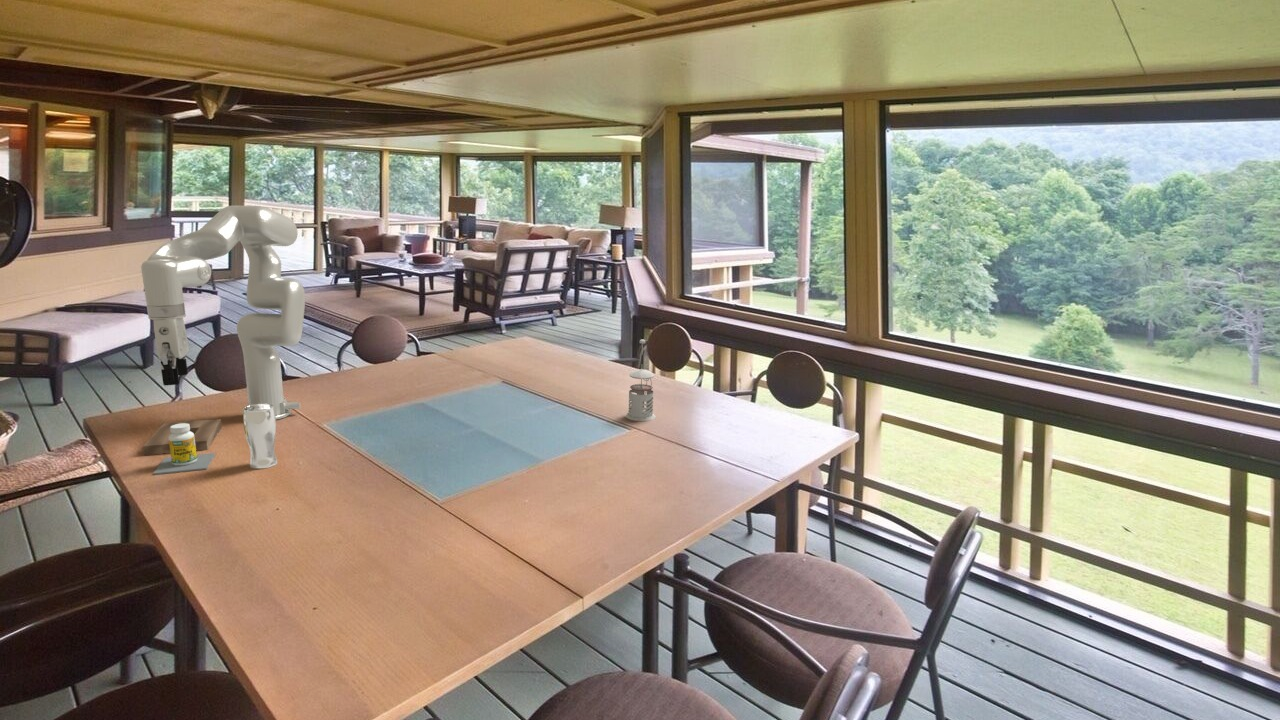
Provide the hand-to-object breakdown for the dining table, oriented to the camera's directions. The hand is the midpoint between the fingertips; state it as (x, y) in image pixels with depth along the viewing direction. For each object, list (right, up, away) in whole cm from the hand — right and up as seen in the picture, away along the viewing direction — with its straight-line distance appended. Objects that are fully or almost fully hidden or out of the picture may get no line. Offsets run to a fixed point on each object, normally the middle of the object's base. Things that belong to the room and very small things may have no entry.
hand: (176, 379), depth 171 cm
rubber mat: (+2, -21, +1) cm, 21 cm away
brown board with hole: (-9, -17, +18) cm, 26 cm away
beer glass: (+21, -22, +2) cm, 30 cm away
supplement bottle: (+1, -21, +1) cm, 21 cm away
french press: (+115, -13, +50) cm, 126 cm away
